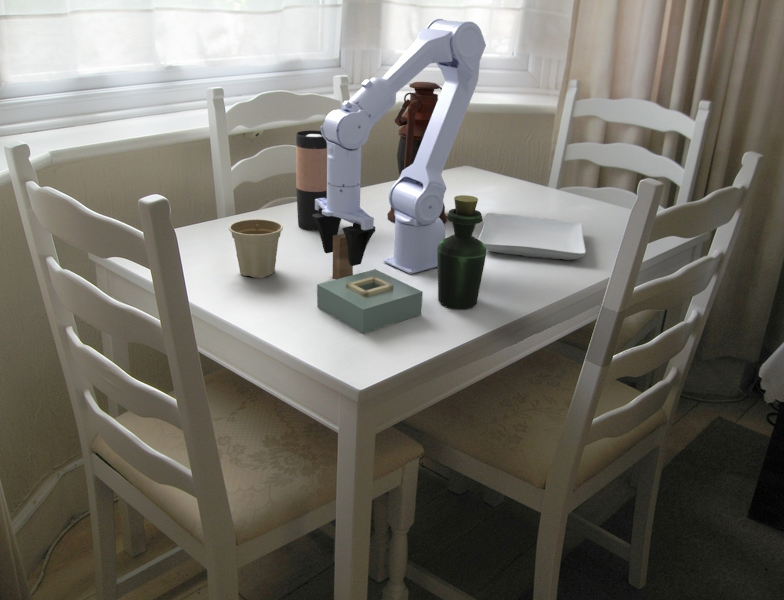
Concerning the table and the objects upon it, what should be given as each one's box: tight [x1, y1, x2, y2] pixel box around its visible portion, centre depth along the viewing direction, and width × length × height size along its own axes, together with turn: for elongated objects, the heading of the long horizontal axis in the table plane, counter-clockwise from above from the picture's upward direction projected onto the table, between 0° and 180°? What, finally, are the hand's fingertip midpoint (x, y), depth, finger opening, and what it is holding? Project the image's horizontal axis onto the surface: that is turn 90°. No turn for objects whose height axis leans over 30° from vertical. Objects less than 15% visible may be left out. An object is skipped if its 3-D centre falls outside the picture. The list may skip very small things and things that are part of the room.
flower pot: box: [228, 218, 284, 279], centre depth 127 cm, size 9×9×9 cm
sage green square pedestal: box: [316, 268, 424, 334], centre depth 114 cm, size 12×12×5 cm
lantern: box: [387, 81, 448, 225], centre depth 157 cm, size 17×14×30 cm
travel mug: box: [295, 129, 327, 232], centre depth 151 cm, size 8×8×20 cm
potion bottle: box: [437, 194, 488, 311], centre depth 116 cm, size 8×8×18 cm
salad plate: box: [477, 212, 587, 261], centre depth 149 cm, size 21×21×3 cm
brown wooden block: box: [332, 232, 354, 280], centre depth 126 cm, size 2×3×8 cm, turn 130°
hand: (342, 258), depth 126 cm, fingers open, 7 cm apart
